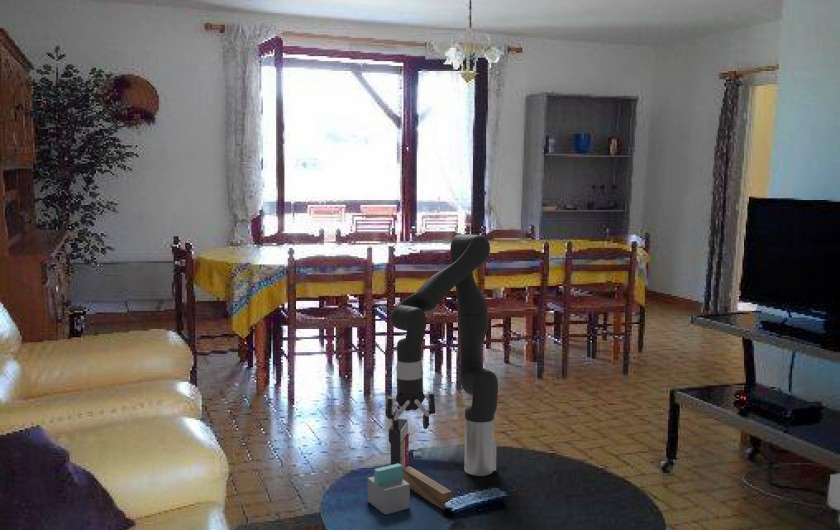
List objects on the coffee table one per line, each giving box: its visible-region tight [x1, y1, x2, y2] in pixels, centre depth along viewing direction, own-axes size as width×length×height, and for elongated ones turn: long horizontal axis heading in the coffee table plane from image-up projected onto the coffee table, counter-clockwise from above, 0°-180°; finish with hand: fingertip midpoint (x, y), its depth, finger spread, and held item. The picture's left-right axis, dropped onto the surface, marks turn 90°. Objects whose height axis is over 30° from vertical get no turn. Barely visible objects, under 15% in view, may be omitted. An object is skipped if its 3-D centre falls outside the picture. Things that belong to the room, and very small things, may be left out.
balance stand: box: [367, 463, 411, 515], centre depth 204 cm, size 8×10×11 cm
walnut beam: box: [402, 465, 453, 509], centre depth 211 cm, size 3×22×5 cm, turn 34°
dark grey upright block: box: [388, 418, 410, 468], centre depth 228 cm, size 11×4×15 cm, turn 168°
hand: (410, 430), depth 207 cm, fingers open, 8 cm apart
